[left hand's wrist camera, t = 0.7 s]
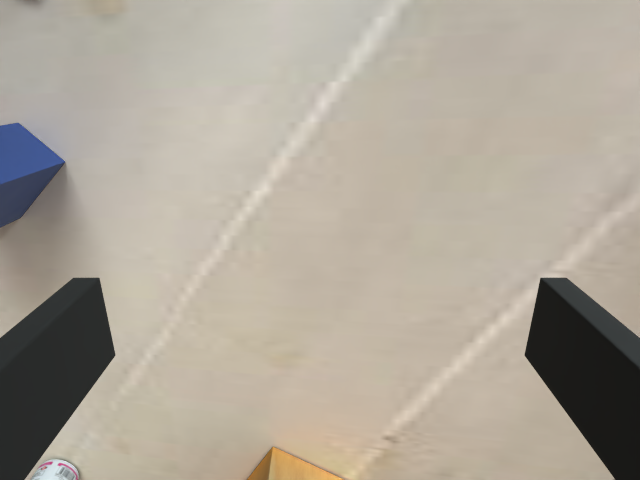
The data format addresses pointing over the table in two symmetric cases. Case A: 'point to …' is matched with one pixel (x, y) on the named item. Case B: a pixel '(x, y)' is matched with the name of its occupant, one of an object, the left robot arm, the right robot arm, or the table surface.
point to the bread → (288, 468)
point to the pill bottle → (56, 471)
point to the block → (22, 170)
